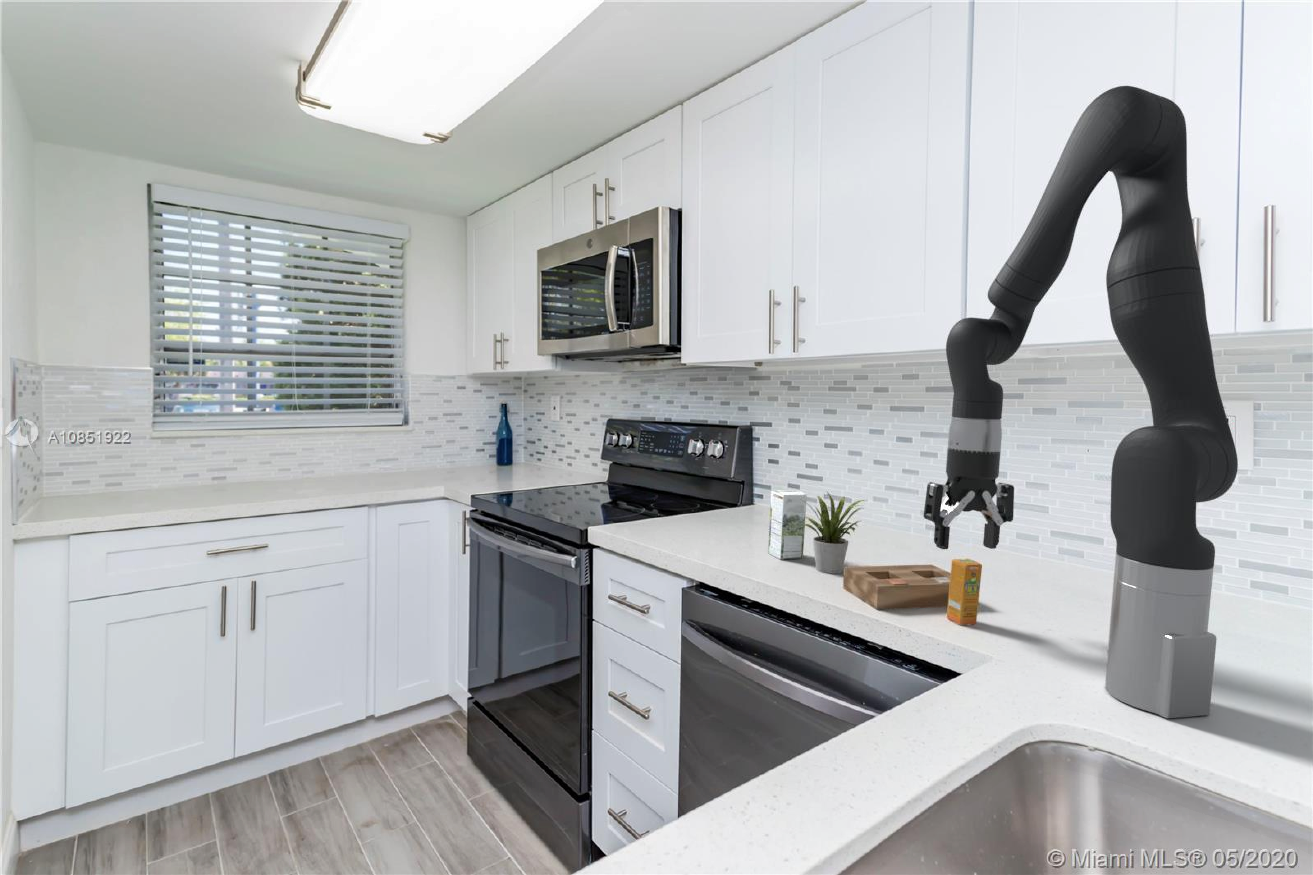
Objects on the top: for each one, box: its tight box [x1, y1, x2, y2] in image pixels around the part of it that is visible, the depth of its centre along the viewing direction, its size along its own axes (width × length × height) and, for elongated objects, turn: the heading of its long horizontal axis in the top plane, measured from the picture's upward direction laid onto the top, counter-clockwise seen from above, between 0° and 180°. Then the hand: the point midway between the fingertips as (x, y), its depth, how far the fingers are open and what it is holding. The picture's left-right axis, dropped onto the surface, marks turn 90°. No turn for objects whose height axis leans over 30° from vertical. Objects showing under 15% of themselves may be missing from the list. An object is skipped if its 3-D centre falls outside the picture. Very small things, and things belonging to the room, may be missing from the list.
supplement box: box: [946, 558, 983, 626], centre depth 103 cm, size 3×3×10 cm
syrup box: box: [767, 489, 807, 561], centre depth 142 cm, size 6×6×14 cm
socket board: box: [842, 564, 951, 611], centre depth 116 cm, size 12×18×4 cm, turn 101°
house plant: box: [800, 491, 867, 574], centre depth 131 cm, size 14×14×16 cm
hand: (966, 547), depth 103 cm, fingers open, 8 cm apart
